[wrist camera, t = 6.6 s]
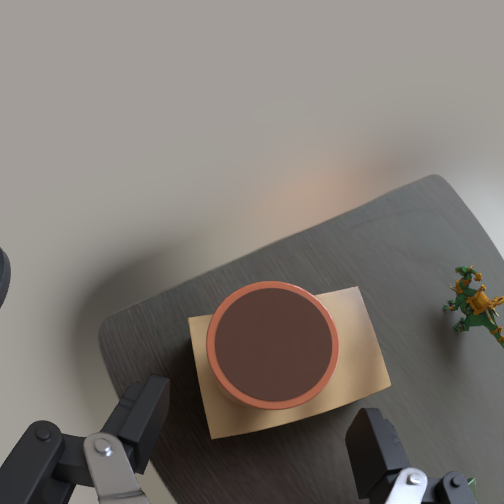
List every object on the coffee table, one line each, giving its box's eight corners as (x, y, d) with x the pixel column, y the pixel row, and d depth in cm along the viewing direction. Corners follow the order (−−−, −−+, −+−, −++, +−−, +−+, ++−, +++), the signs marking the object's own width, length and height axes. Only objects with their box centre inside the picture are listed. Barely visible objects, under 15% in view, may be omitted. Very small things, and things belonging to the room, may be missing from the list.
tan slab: (213, 432, 20) (211, 439, 16) (193, 334, 24) (187, 317, 20) (363, 391, 23) (391, 385, 19) (337, 306, 27) (357, 285, 23)
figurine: (440, 279, 30) (480, 245, 23) (483, 352, 25) (529, 330, 18) (428, 290, 29) (471, 255, 22) (473, 367, 24) (522, 346, 17)
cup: (221, 416, 17) (221, 423, 10) (204, 335, 20) (195, 290, 13) (306, 397, 18) (355, 387, 11) (285, 320, 21) (318, 270, 14)
